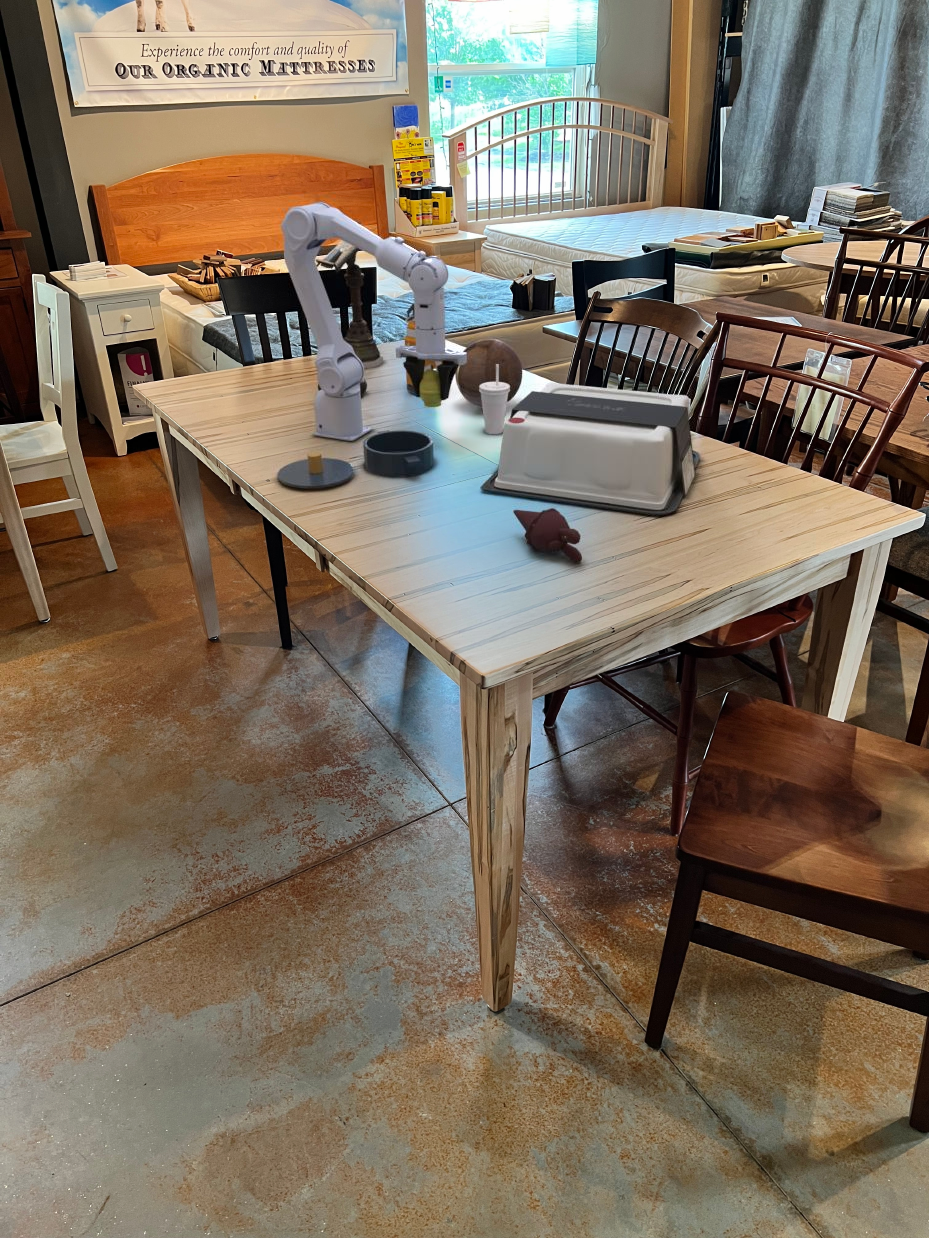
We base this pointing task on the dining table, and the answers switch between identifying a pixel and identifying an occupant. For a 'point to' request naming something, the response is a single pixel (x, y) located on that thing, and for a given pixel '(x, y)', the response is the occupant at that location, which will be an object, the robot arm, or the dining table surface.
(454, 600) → the dining table surface
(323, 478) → the lid
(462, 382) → the wooden sphere
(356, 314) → the dark brown tall piece
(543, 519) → the icecream
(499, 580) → the dining table surface
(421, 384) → the pear
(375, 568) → the dining table surface
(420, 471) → the pan
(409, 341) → the canister
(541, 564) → the dining table surface
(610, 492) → the cake box
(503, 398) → the smoothie
